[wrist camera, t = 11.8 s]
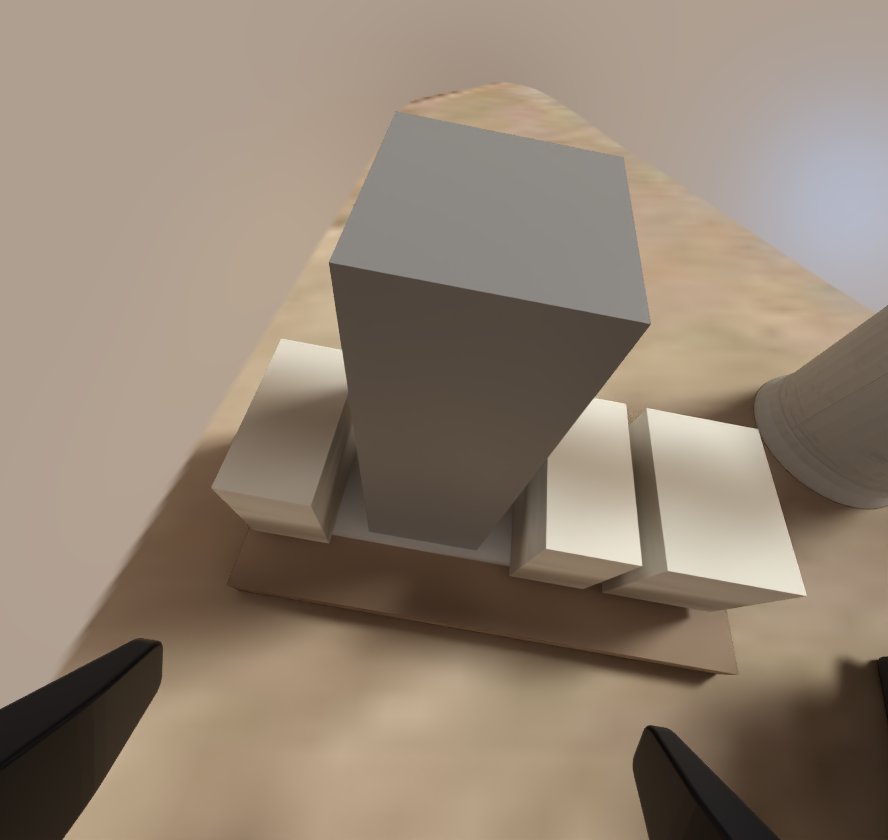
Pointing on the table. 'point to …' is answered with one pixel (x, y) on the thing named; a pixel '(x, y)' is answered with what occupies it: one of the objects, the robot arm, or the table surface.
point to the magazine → (884, 677)
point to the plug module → (478, 317)
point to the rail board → (482, 601)
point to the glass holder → (834, 418)
